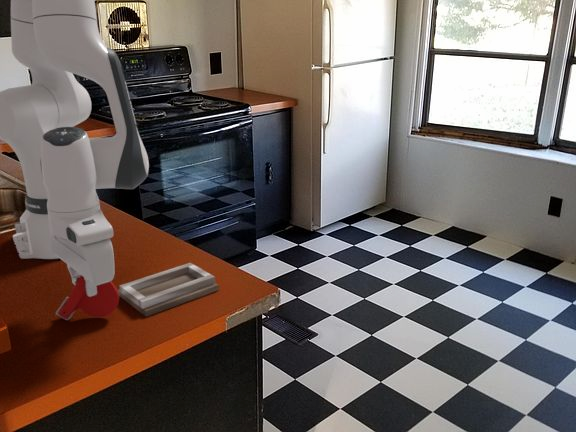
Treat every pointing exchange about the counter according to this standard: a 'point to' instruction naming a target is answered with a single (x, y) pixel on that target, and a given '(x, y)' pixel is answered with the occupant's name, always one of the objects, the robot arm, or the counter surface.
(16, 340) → the counter surface
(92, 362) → the counter surface
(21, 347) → the counter surface
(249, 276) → the counter surface
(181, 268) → the grey rectangular tray
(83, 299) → the tracker holder
